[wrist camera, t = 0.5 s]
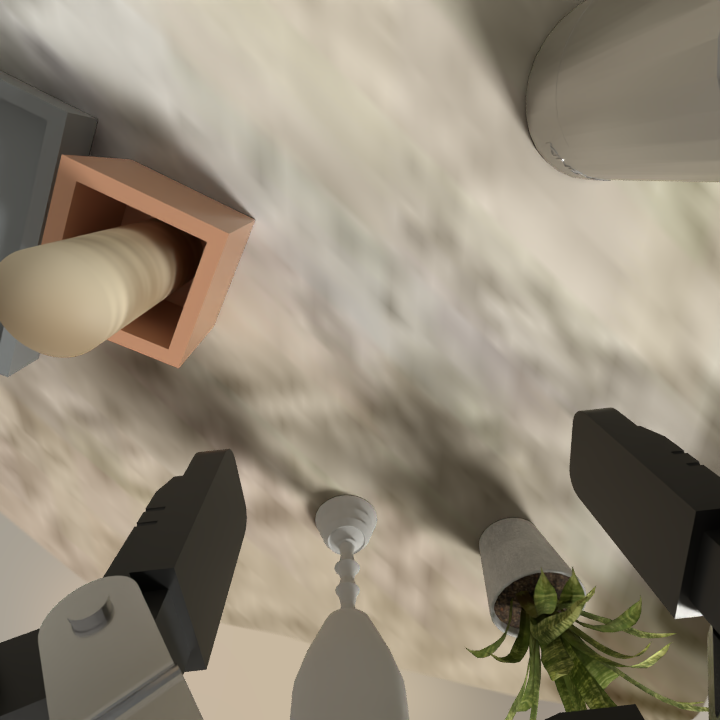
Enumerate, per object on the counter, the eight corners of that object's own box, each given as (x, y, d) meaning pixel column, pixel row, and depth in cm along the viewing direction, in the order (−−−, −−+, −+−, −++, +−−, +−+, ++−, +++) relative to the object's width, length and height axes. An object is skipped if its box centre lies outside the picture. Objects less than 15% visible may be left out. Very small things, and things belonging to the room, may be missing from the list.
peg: (146, 204, 26) (1, 226, 15) (213, 235, 27) (122, 279, 16) (127, 267, 27) (-19, 330, 16) (191, 294, 28) (94, 373, 17)
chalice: (291, 540, 37) (252, 835, 21) (316, 476, 35) (294, 751, 18) (373, 559, 38) (399, 853, 22) (403, 499, 36) (456, 776, 19)
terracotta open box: (131, 159, 26) (61, 154, 19) (255, 219, 27) (229, 233, 21) (98, 277, 28) (26, 307, 22) (213, 326, 30) (178, 368, 23)
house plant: (640, 523, 38) (836, 752, 23) (530, 621, 42) (636, 869, 27) (516, 447, 35) (652, 657, 20) (409, 561, 39) (454, 809, 24)
